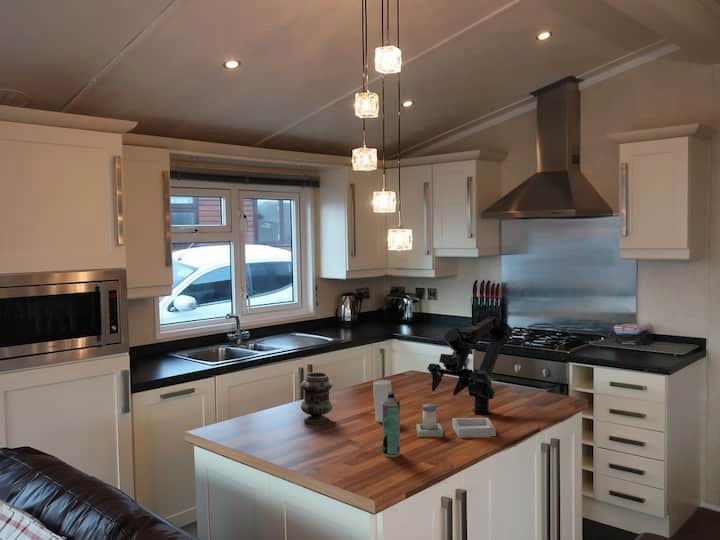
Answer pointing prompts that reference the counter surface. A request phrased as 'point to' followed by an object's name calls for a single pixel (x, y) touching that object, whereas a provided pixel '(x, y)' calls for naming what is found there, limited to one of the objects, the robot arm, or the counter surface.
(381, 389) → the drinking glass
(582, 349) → the counter surface
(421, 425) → the holder ring
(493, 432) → the parts tray
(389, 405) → the spray can
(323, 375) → the apothecary jar
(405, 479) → the counter surface
